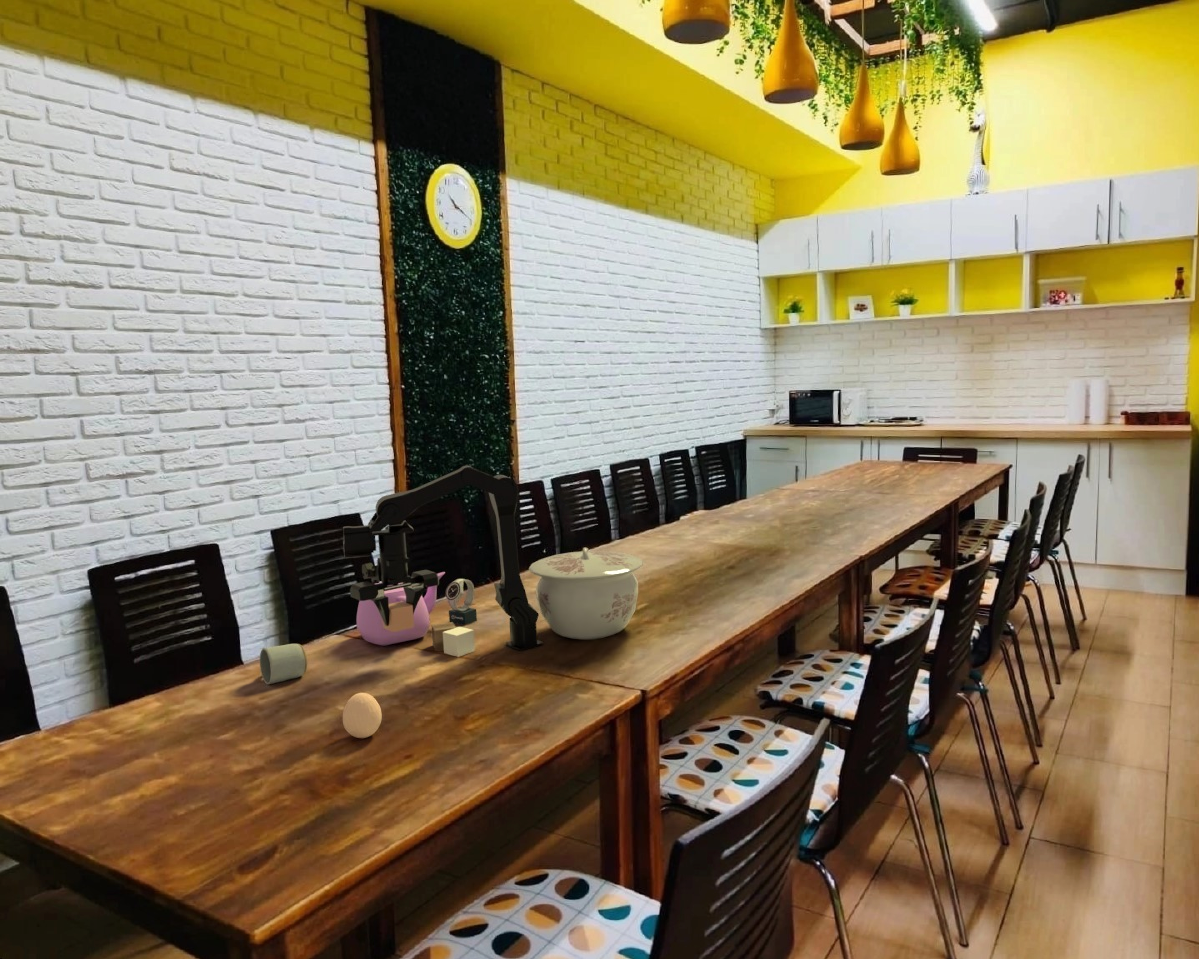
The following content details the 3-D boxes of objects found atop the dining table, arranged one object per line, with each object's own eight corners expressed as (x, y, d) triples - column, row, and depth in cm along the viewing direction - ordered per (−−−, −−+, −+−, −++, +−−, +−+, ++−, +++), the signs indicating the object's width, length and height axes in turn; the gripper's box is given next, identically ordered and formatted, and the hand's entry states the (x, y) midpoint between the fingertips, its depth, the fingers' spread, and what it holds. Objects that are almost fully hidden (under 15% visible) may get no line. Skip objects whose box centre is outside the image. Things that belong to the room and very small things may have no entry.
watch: (444, 624, 220) (441, 582, 218) (465, 616, 226) (463, 575, 225) (460, 627, 217) (457, 584, 215) (481, 619, 223) (479, 577, 222)
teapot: (378, 657, 196) (373, 593, 194) (349, 636, 213) (344, 576, 211) (470, 637, 208) (466, 576, 206) (435, 618, 226) (431, 562, 224)
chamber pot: (578, 658, 189) (573, 565, 186) (510, 632, 210) (505, 549, 208) (671, 630, 206) (668, 545, 203) (600, 608, 227) (596, 531, 225)
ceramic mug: (310, 678, 184) (307, 643, 183) (272, 688, 179) (268, 652, 178) (292, 667, 192) (289, 634, 191) (255, 677, 187) (251, 642, 186)
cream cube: (475, 651, 197) (473, 629, 197) (458, 657, 194) (456, 635, 193) (460, 647, 201) (459, 626, 200) (444, 653, 197) (442, 632, 196)
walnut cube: (457, 648, 200) (456, 627, 199) (436, 651, 198) (434, 630, 198) (454, 642, 205) (452, 621, 204) (432, 645, 203) (431, 624, 202)
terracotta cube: (414, 627, 190) (412, 605, 189) (393, 632, 187) (391, 609, 186) (403, 622, 194) (402, 601, 193) (383, 627, 191) (381, 605, 190)
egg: (344, 747, 148) (340, 703, 147) (344, 732, 155) (340, 690, 154) (384, 741, 150) (380, 697, 149) (382, 726, 156) (379, 684, 155)
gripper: (414, 542, 200) (419, 607, 202) (337, 555, 189) (343, 624, 191) (437, 548, 192) (442, 616, 194) (358, 562, 180) (364, 635, 182)
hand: (398, 622), depth 190 cm, fingers closed on terracotta cube, 5 cm apart
